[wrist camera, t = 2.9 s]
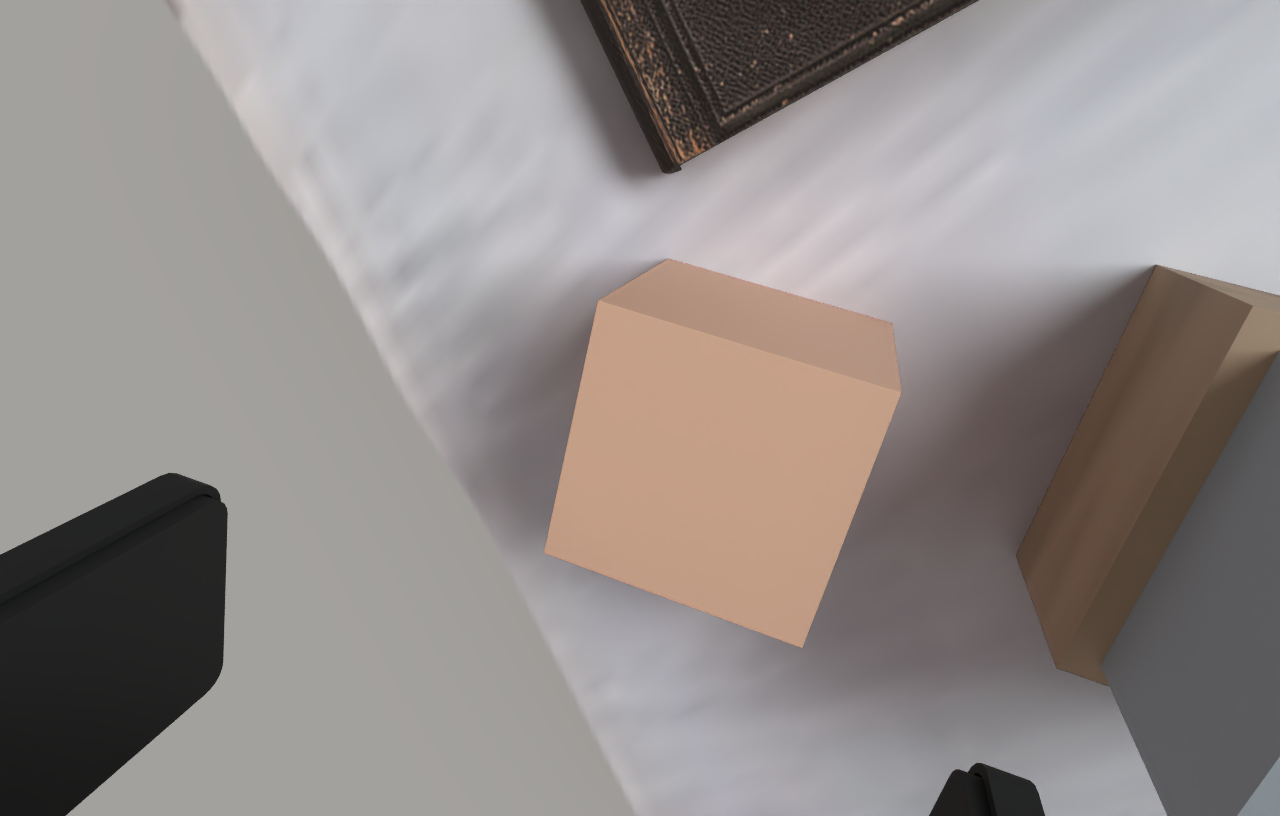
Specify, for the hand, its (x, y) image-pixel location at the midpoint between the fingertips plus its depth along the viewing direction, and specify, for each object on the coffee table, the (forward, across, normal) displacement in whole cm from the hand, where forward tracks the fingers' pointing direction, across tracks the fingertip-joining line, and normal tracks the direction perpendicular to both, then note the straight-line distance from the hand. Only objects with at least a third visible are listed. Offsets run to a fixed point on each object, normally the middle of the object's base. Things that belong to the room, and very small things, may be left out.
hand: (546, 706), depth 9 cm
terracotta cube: (+13, -1, 0) cm, 13 cm away
